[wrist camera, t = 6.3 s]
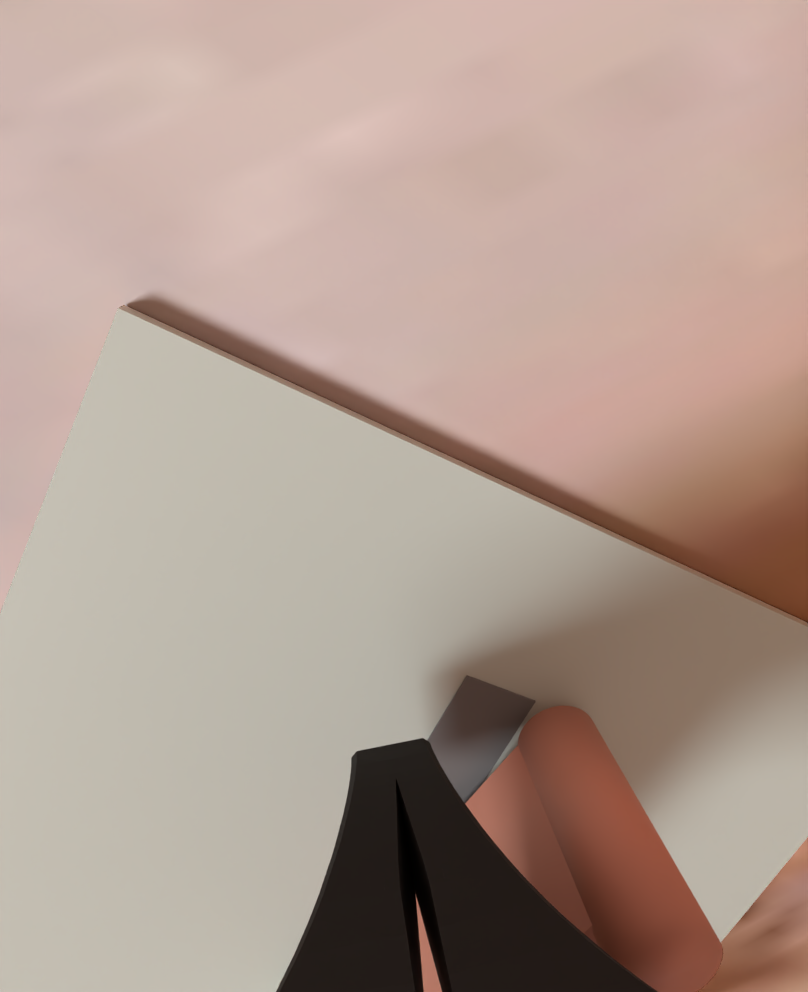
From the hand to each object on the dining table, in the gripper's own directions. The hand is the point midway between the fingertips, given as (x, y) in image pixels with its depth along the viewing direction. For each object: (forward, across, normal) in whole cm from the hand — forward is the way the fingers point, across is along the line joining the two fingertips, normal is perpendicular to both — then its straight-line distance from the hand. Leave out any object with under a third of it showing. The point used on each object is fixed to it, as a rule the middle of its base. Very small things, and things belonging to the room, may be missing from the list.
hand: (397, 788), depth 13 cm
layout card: (+2, 0, +3) cm, 3 cm away
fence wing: (+1, -1, +3) cm, 3 cm away
